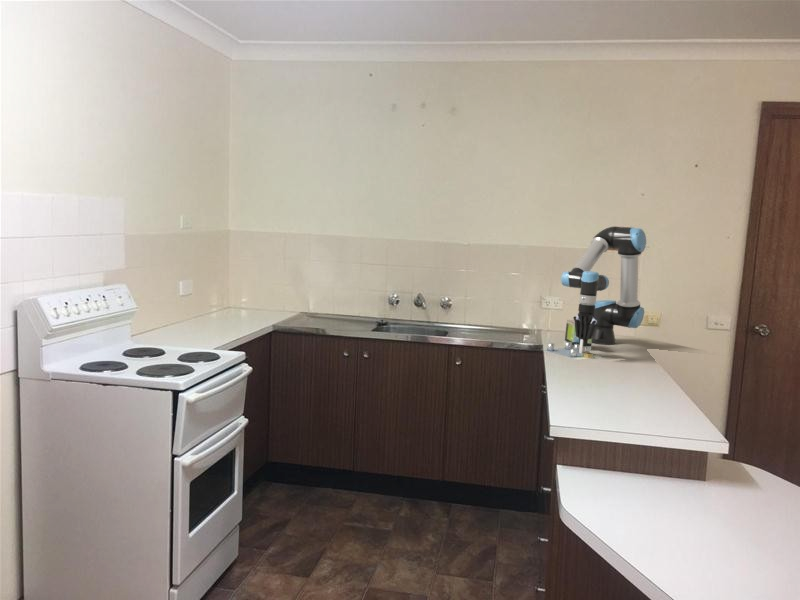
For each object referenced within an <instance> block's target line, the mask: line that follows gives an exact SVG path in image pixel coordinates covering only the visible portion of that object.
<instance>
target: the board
mask: <svg viewBox="0 0 800 600" xmlns="http://www.w3.org/2000/svg"><path fill="white" fill-rule="evenodd" d="M543 352H547V353H552V354H556V355H559V356H563V357H567V358H570V359H574V360H577V361H581V360H590V359H598V358H602V356H601V355H598V354H597V355H596V354H594V353H593V358H584V357H583V354H582V353H579V352H577V357H570V350H566V349H565V347H562V348H554V351H547V349H544V350H543Z"/></svg>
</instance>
